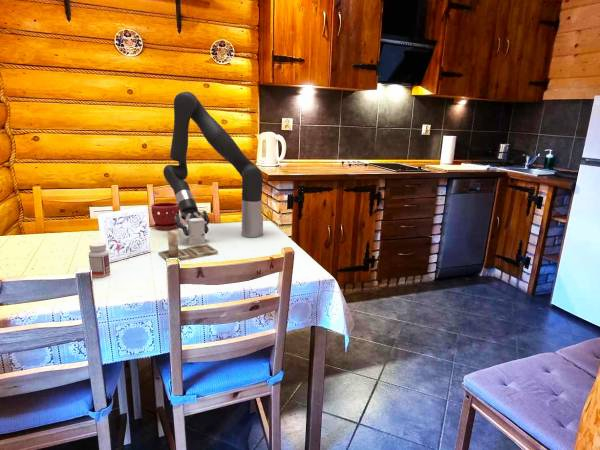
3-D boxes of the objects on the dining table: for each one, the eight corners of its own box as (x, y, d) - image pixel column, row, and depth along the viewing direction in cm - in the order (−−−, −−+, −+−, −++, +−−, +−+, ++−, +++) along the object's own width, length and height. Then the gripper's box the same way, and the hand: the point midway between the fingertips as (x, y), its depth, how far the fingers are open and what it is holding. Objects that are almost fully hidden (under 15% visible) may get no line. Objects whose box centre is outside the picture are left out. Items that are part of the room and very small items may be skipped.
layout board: (205, 247, 175) (205, 243, 174) (219, 256, 165) (219, 251, 164) (157, 256, 163) (157, 250, 162) (168, 266, 153) (168, 260, 152)
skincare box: (191, 248, 173) (190, 221, 170) (188, 245, 177) (187, 218, 173) (205, 246, 176) (204, 219, 173) (201, 243, 180) (201, 217, 177)
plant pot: (185, 227, 205) (184, 203, 202) (164, 232, 194) (163, 208, 191) (168, 222, 211) (167, 200, 208) (146, 228, 201) (145, 204, 198)
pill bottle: (106, 270, 147) (103, 240, 144) (113, 275, 143) (110, 244, 140) (87, 274, 142) (84, 243, 139) (95, 279, 138) (91, 247, 135)
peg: (176, 254, 162) (175, 229, 160) (179, 256, 160) (178, 232, 157) (167, 255, 160) (166, 231, 158) (170, 258, 157) (169, 233, 155)
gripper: (172, 199, 173) (183, 231, 167) (203, 196, 181) (215, 227, 176) (168, 208, 178) (179, 240, 173) (199, 205, 187) (210, 236, 181)
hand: (197, 233), depth 174 cm, fingers open, 8 cm apart
